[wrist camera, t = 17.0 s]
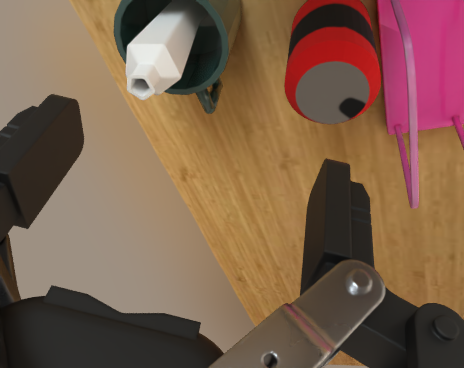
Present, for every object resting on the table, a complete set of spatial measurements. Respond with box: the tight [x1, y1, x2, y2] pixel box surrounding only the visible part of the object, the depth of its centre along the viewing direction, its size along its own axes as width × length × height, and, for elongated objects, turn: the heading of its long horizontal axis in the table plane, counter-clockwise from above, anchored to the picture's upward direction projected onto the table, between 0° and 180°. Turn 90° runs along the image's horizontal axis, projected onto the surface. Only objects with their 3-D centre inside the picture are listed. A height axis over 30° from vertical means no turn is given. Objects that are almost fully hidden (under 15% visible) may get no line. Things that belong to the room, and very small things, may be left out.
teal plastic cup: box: [114, 0, 242, 114], centre depth 39 cm, size 14×10×8 cm
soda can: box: [285, 0, 381, 124], centre depth 36 cm, size 8×8×12 cm
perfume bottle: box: [126, 0, 208, 100], centre depth 35 cm, size 5×4×15 cm
